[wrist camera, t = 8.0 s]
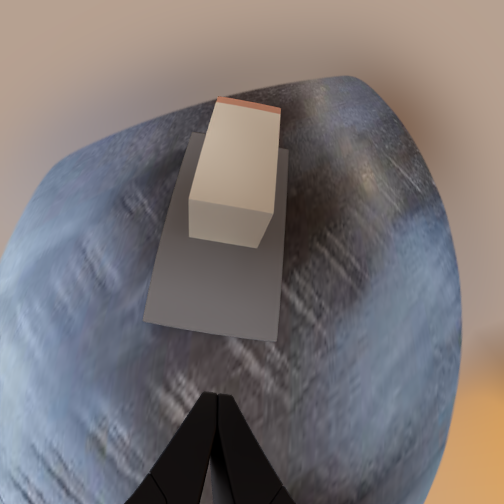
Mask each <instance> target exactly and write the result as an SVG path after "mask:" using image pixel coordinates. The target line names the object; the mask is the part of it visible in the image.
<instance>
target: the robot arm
mask: <svg viewBox="0 0 504 504" xmlns="http://www.w3.org/2000/svg"><path fill="white" fill-rule="evenodd" d="M209 460H210V468H211V481H212V493H213V504H296V503H295V502H294V500H293V499H292V497H291V496H290V494H289V493H288V491H287V490H286V488H285V487H284V486H282V485H283V484H282V482H281V480H280V479H279V477H278V475H277V474H276V472H275V471H274V469H273V467H272V466H271V464H270V462H269V461H268V459H267V457H266V455H265V454H264V452H263V450H262V449H261V447H260V445H259V443H258V442H257V440H256V438H255V436H254V435H253V433H252V431H251V429H250V427H249V426H248V424H247V422H246V420H245V418H244V416H243V415H242V413H241V411H240V409H239V407H238V405H237V403H236V402H235V400H234V398H233V396H232V395H228V394H218V395H217V394H216V393H213V392H206V391H204V392H203V393H202V394H201V395H200V397H199V398H198V400H197V402H196V403H195V405H194V406H193V408H192V409H191V411H190V412H189V414H188V415H187V417H186V418H185V420H184V421H183V423H182V424H181V426H180V427H179V429H178V430H177V432H176V433H175V435H174V436H173V438H172V439H171V441H170V442H169V444H168V445H167V447H166V448H165V450H164V451H163V452H162V454H161V455H160V457H159V458H158V460H157V461H156V463H155V464H154V466H153V467H152V468H151V470H150V472H149V473H148V474H147V475H146V477H145V478H144V480H143V481H142V482H141V484H140V485H139V486H138V488H137V489H136V490H135V492H134V493H133V494H132V495H131V496H130V498H129V499H128V500H127V501H126V502H125V503H124V504H200V499H201V495H202V491H203V486H204V482H205V478H206V473H207V469H208V465H209Z"/></svg>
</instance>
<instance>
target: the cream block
mask: <svg viewBox="0 0 504 504" xmlns="http://www.w3.org/2000/svg"><path fill="white" fill-rule="evenodd" d="M280 114H281V108H277V107H273V106H268V105H264V104H259V103H254V102H249V101H243V100H238V99H232V98H226V97H219V96H218V98H217V101H216V104H215V107H214V111H213V114H212V117H211V120H210V124H209V127H208V130H207V133H206V137H205V140H204V144H203V147H202V151H201V154H200V158H199V161H198V165H197V169H196V172H195V176H194V180H193V183H192V187H191V191H190V195H189V237H192V238H198V239H204V240H210V241H216V242H222V243H228V244H234V245H240V246H245V247H251V248H257V247H258V245H259V243H260V241H261V239H262V237H263V235H264V233H265V231H266V229H267V226H268V224H269V222H270V220H271V218H272V216H273V214H274V201H275V188H276V174H277V160H278V145H279V130H280Z"/></svg>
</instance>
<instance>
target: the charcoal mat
mask: <svg viewBox="0 0 504 504" xmlns="http://www.w3.org/2000/svg"><path fill="white" fill-rule="evenodd" d="M205 137H206V134H202V133H195V132H192V134H191V137H190V140H189V143H188V146H187V149H186V152H185V155H184V158H183V162H182V165H181V168H180V171H179V174H178V178H177V181H176V184H175V188H174V191H173V195H172V198H171V202H170V205H169V209H168V213H167V216H166V220H165V224H164V228H163V231H162V235H161V239H160V243H159V247H158V251H157V256H156V260H155V264H154V268H153V273H152V277H151V282H150V287H149V291H148V296H147V301H146V306H145V311H144V316H143V321H144V322H148V323H153V324H158V325H163V326H168V327H174V328H180V329H185V330H191V331H197V332H203V333H210V334H216V335H223V336H230V337H238V338H245V339H253V340H262V341H271V342H276V341H277V334H278V322H279V309H280V296H281V282H282V268H283V253H284V236H285V219H286V199H287V178H288V154H289V150H287V149H283V148H278V160H277V174H276V188H275V201H274V214H273V216H272V218H271V220H270V222H269V224H268V226H267V229H266V231H265V233H264V235H263V237H262V239H261V241H260V243H259V245H258V247H257V248H251V247H245V246H240V245H234V244H228V243H222V242H216V241H210V240H204V239H198V238H192V237H189V195H190V191H191V187H192V183H193V180H194V176H195V172H196V169H197V165H198V161H199V158H200V154H201V151H202V147H203V144H204V140H205Z"/></svg>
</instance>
